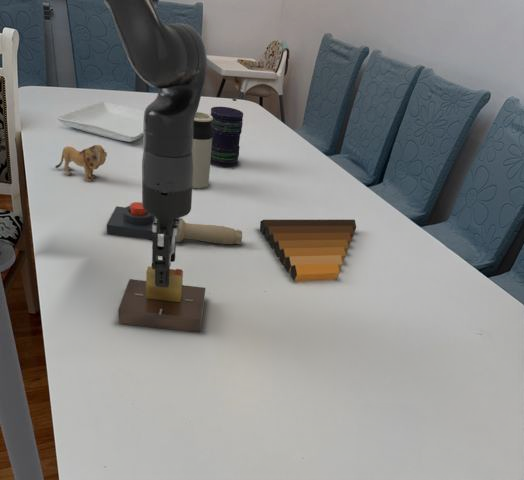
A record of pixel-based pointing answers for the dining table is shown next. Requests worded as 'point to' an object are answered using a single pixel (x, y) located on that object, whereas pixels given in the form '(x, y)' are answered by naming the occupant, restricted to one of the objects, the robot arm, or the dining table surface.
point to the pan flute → (310, 246)
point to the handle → (209, 233)
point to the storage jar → (225, 136)
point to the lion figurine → (84, 159)
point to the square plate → (107, 121)
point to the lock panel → (162, 308)
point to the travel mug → (201, 149)
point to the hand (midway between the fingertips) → (165, 272)
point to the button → (137, 209)
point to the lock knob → (164, 293)
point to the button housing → (130, 224)
